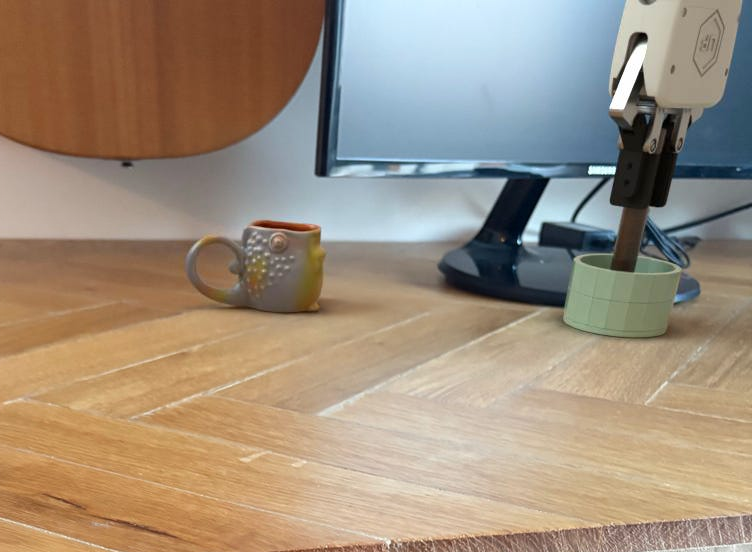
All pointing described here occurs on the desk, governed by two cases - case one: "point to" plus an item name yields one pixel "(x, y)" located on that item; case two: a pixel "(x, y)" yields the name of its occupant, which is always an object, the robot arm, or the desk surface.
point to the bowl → (621, 296)
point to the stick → (632, 229)
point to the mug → (268, 267)
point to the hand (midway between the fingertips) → (637, 204)
